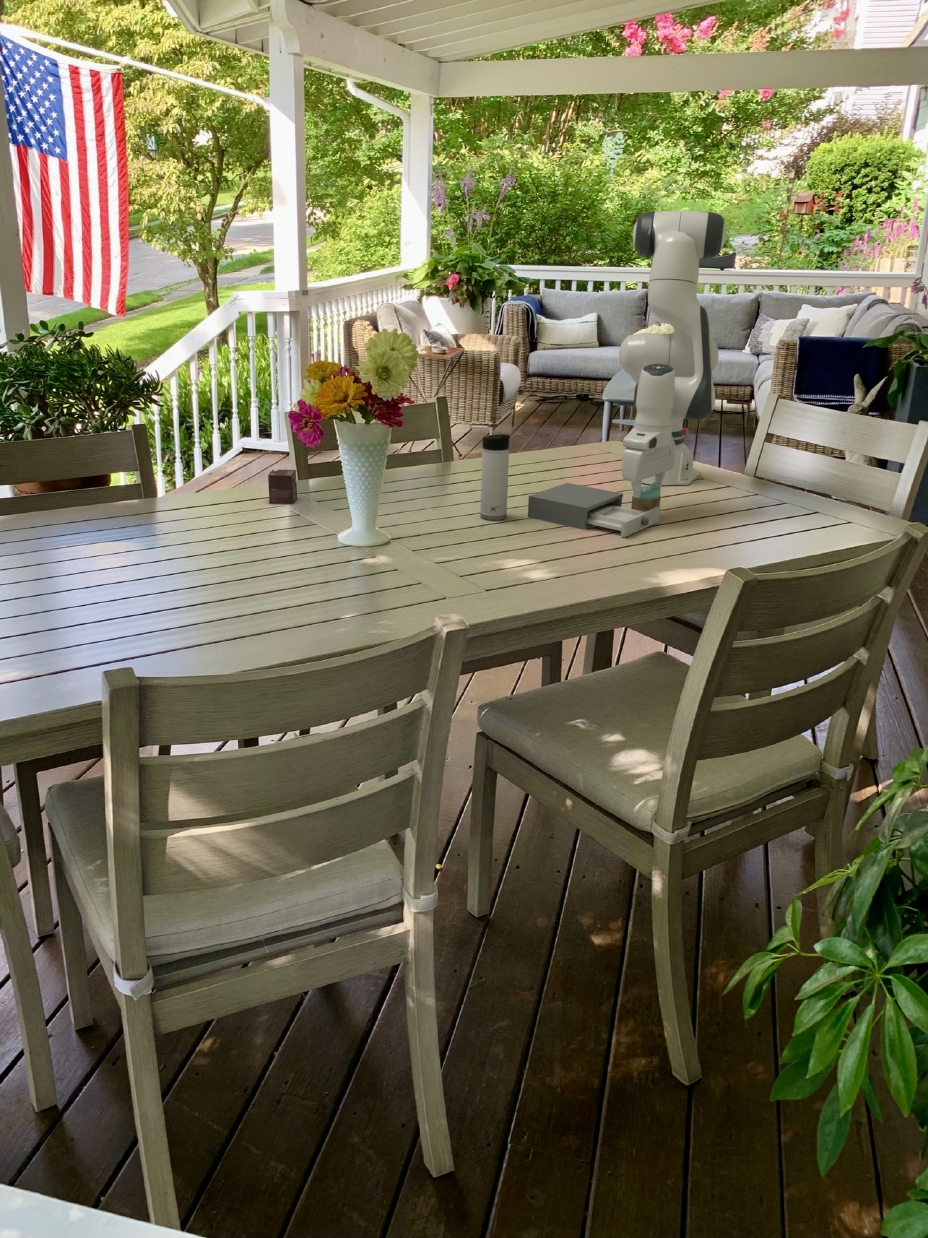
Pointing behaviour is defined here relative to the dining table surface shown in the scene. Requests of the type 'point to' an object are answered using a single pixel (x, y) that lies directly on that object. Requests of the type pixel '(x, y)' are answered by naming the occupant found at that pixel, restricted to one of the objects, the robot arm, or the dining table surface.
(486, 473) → the travel mug
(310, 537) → the dining table surface
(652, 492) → the teal flat dome
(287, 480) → the box
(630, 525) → the light grey drawer
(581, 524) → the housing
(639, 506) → the brown wooden cube
